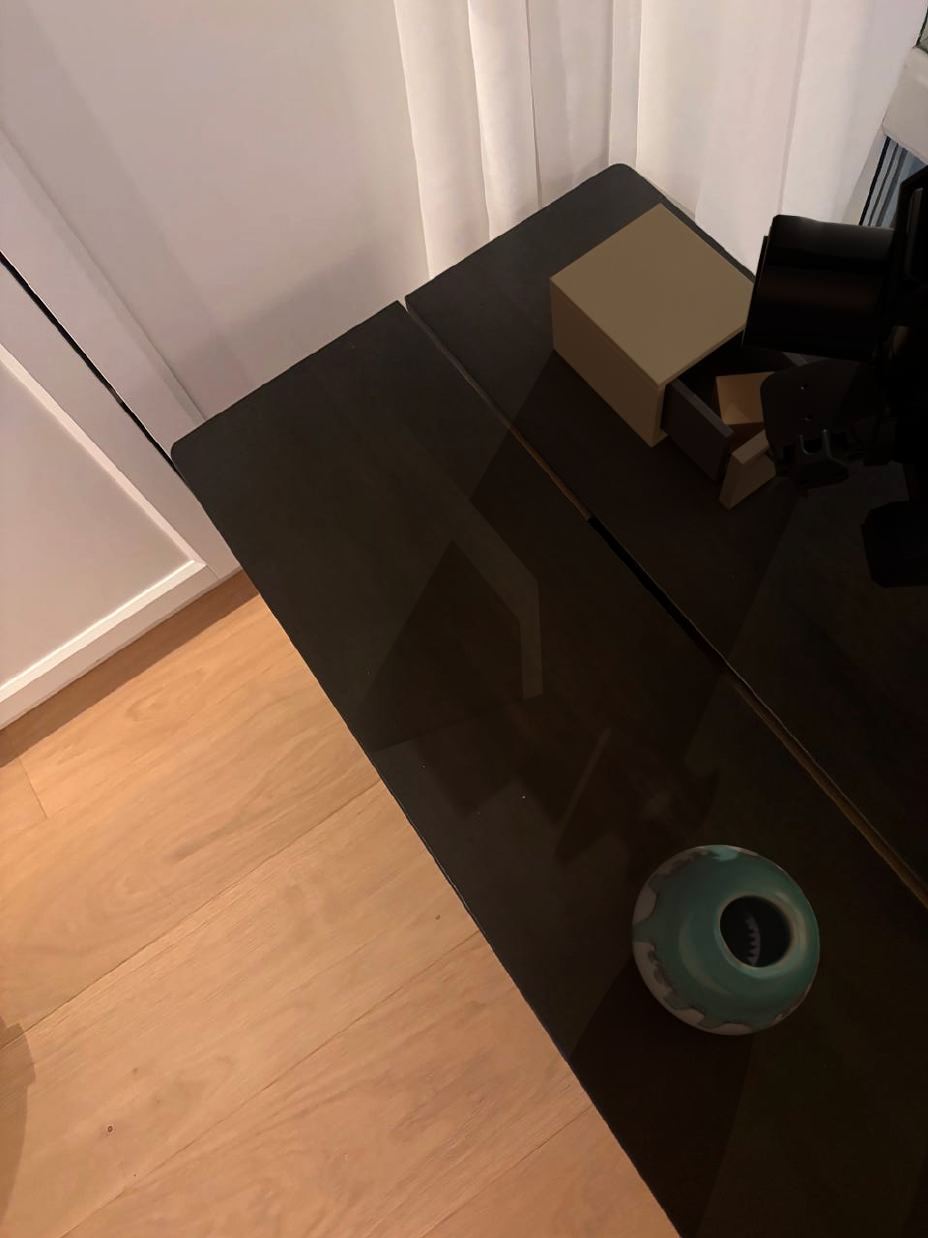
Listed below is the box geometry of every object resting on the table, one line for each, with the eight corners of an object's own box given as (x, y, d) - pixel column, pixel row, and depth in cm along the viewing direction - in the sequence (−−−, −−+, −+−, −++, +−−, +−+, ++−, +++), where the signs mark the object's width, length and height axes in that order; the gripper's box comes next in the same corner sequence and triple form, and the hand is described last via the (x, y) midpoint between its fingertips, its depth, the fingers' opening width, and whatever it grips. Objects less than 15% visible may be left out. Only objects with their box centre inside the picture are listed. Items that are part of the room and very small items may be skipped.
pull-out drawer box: (868, 476, 73) (896, 426, 66) (769, 550, 72) (787, 508, 65) (722, 343, 79) (734, 285, 73) (629, 409, 78) (632, 357, 72)
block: (764, 403, 76) (774, 370, 71) (771, 450, 74) (782, 420, 70) (708, 408, 76) (715, 376, 72) (714, 455, 74) (722, 425, 70)
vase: (755, 831, 66) (811, 786, 49) (828, 997, 61) (917, 1009, 45) (604, 884, 66) (608, 857, 49) (666, 1054, 61) (694, 1087, 45)
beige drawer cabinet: (755, 372, 79) (775, 301, 71) (651, 447, 78) (658, 385, 69) (653, 278, 84) (660, 202, 75) (553, 348, 83) (548, 278, 74)
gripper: (765, 222, 50) (729, 388, 64) (809, 527, 43) (758, 636, 58) (981, 199, 49) (894, 375, 63) (1061, 512, 42) (944, 628, 56)
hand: (869, 498), depth 60 cm, fingers open, 9 cm apart
